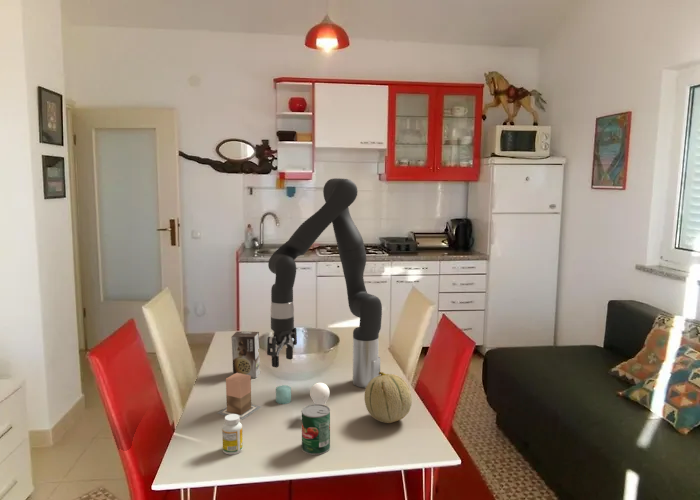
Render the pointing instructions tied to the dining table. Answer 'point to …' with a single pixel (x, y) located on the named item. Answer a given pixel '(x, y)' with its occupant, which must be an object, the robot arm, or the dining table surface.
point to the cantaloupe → (388, 398)
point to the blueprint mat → (244, 415)
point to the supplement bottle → (232, 434)
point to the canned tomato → (315, 429)
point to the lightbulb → (319, 393)
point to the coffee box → (246, 353)
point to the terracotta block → (238, 385)
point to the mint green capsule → (283, 394)
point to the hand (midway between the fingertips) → (282, 362)
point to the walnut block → (238, 404)
